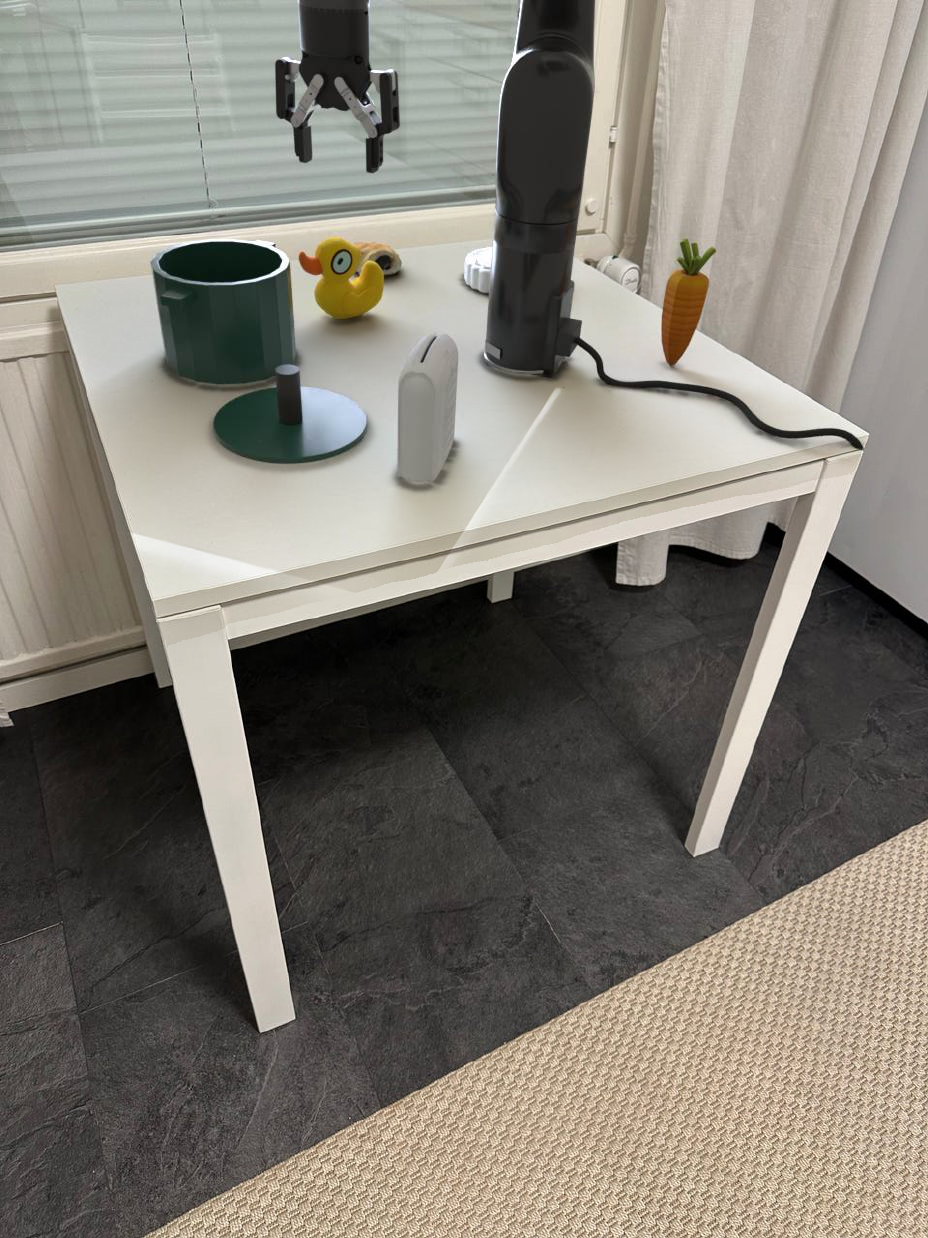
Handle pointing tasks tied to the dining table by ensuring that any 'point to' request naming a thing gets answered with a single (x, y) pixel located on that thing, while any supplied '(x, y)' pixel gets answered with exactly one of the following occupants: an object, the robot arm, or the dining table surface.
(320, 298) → the duckling
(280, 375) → the lid
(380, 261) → the pastry
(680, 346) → the carrot
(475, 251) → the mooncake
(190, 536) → the dining table surface
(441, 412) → the photo printer
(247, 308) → the pot
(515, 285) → the robot arm
